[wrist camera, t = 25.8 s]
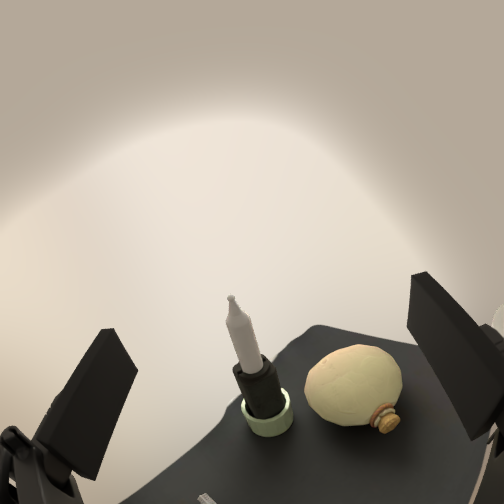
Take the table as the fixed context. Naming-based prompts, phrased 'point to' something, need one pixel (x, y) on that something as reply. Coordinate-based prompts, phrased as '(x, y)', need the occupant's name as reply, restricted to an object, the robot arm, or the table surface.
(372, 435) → the table surface
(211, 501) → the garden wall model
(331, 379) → the flask
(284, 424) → the candle holder
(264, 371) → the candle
